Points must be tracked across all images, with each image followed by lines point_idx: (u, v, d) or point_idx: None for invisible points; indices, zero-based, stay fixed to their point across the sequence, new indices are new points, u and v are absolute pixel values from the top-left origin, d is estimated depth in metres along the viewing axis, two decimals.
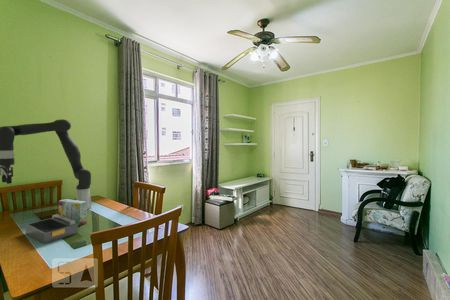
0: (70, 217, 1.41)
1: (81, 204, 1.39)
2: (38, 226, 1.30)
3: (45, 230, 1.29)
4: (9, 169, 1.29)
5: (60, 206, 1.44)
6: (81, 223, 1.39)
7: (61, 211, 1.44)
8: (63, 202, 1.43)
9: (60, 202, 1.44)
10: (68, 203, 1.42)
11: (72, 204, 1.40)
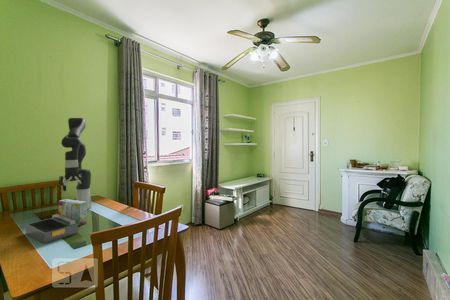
0: (70, 217, 1.41)
1: (81, 204, 1.39)
2: (38, 226, 1.30)
3: (45, 230, 1.29)
4: None
5: (60, 206, 1.44)
6: (81, 223, 1.39)
7: (61, 211, 1.44)
8: (63, 202, 1.43)
9: (60, 202, 1.44)
10: (68, 203, 1.42)
11: (72, 204, 1.40)
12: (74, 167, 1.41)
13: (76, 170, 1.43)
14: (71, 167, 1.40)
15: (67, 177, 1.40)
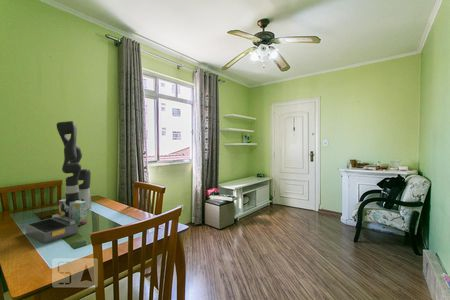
0: (70, 217, 1.41)
1: (81, 204, 1.39)
2: (38, 226, 1.30)
3: (45, 230, 1.29)
4: None
5: None
6: (81, 223, 1.39)
7: (61, 211, 1.44)
8: (63, 202, 1.43)
9: (60, 202, 1.44)
10: None
11: (72, 204, 1.40)
12: (75, 193, 1.42)
13: (77, 196, 1.43)
14: (72, 193, 1.41)
15: (68, 203, 1.41)
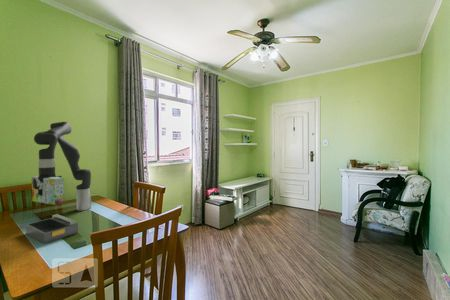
0: (44, 195, 1.21)
1: (56, 180, 1.19)
2: (38, 226, 1.30)
3: (45, 230, 1.29)
4: None
5: None
6: (56, 202, 1.20)
7: (34, 189, 1.24)
8: None
9: (33, 178, 1.25)
10: None
11: (46, 180, 1.20)
12: (50, 168, 1.22)
13: (52, 171, 1.23)
14: (46, 167, 1.21)
15: (41, 179, 1.21)
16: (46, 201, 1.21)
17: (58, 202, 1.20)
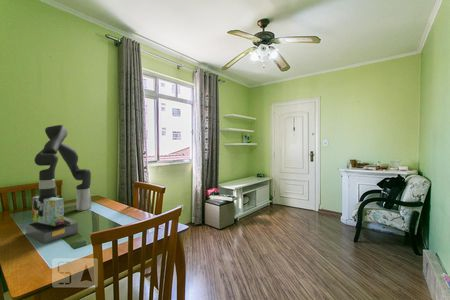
0: (44, 216, 1.21)
1: (56, 201, 1.20)
2: (38, 226, 1.30)
3: (45, 230, 1.29)
4: None
5: None
6: (57, 223, 1.20)
7: None
8: None
9: (34, 199, 1.25)
10: None
11: (46, 201, 1.21)
12: (50, 188, 1.23)
13: (52, 192, 1.24)
14: (46, 188, 1.21)
15: (41, 200, 1.21)
16: (46, 222, 1.21)
17: (58, 223, 1.21)
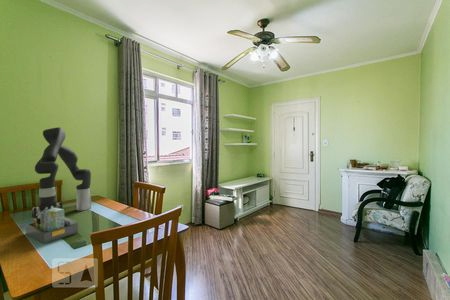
0: (45, 227, 1.22)
1: (57, 212, 1.20)
2: None
3: None
4: None
5: None
6: None
7: None
8: (38, 210, 1.25)
9: None
10: None
11: (47, 212, 1.21)
12: (50, 197, 1.23)
13: (53, 200, 1.24)
14: (46, 197, 1.21)
15: (42, 208, 1.21)
16: None
17: None
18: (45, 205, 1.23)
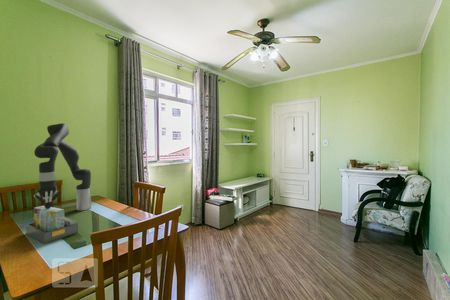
0: (45, 227, 1.22)
1: (57, 212, 1.20)
2: None
3: None
4: None
5: (35, 214, 1.26)
6: None
7: (36, 220, 1.25)
8: (38, 209, 1.25)
9: (35, 209, 1.26)
10: (43, 211, 1.23)
11: (47, 212, 1.21)
12: (50, 181, 1.22)
13: (52, 184, 1.24)
14: (46, 181, 1.21)
15: (42, 194, 1.21)
16: None
17: None
18: (45, 189, 1.22)
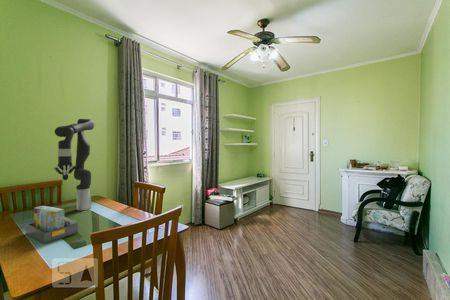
0: (45, 227, 1.22)
1: (57, 212, 1.20)
2: None
3: None
4: None
5: (35, 214, 1.26)
6: None
7: (36, 220, 1.25)
8: (38, 210, 1.25)
9: (35, 209, 1.26)
10: (43, 211, 1.23)
11: (47, 212, 1.21)
12: (67, 156, 1.44)
13: (69, 159, 1.45)
14: (64, 156, 1.42)
15: (61, 167, 1.43)
16: None
17: None
18: (63, 163, 1.44)
